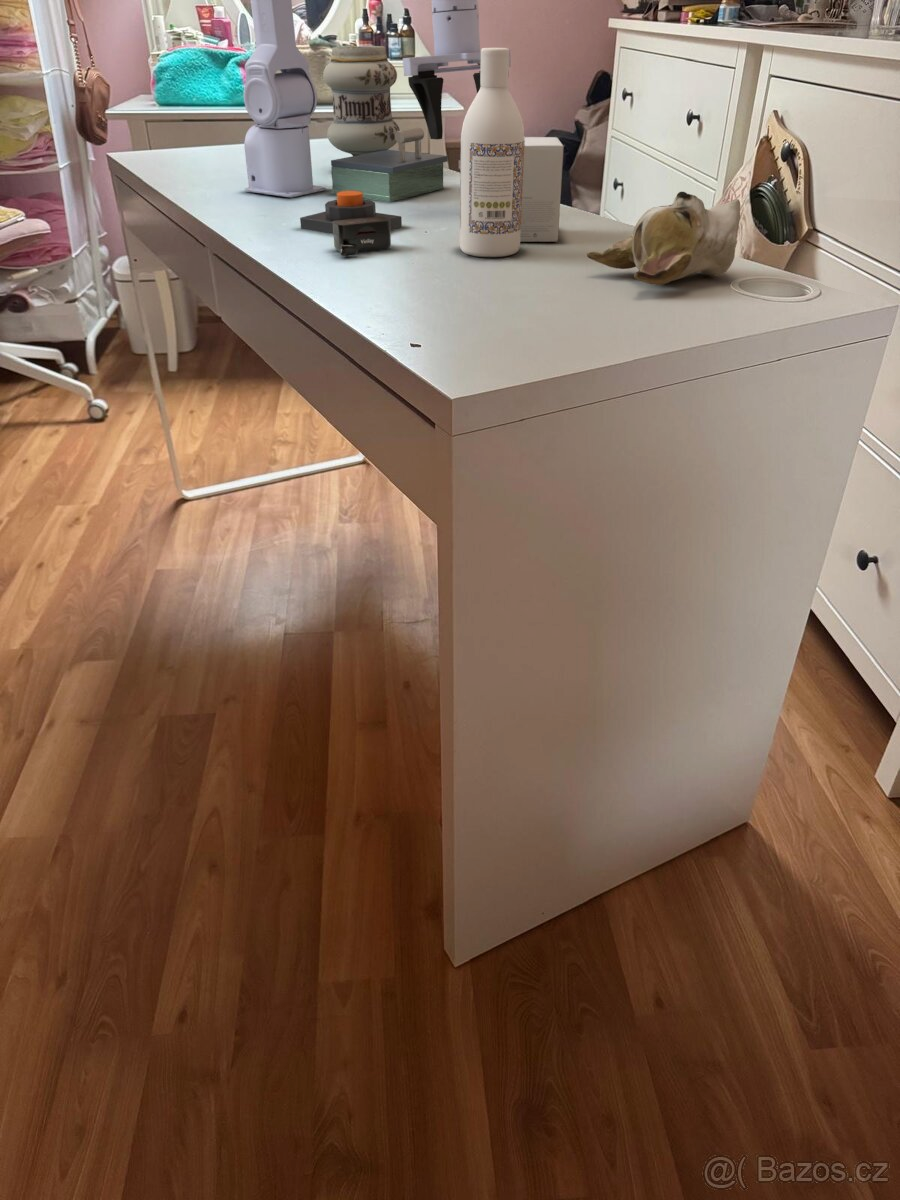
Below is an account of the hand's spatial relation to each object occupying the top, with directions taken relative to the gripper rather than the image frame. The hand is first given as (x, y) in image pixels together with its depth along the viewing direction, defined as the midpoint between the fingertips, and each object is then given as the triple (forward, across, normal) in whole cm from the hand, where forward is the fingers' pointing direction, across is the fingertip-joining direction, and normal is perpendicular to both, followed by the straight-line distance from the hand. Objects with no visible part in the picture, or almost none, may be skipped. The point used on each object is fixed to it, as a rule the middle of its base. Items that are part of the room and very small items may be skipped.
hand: (462, 135), depth 117 cm
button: (+6, -18, -2) cm, 19 cm away
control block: (+9, -18, -2) cm, 20 cm away
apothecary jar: (+7, +3, +39) cm, 40 cm away
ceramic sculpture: (+12, +1, -40) cm, 42 cm away
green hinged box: (+8, -2, +20) cm, 21 cm away
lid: (+4, -2, +19) cm, 19 cm away
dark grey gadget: (+10, -22, -14) cm, 28 cm away
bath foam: (+11, -9, -21) cm, 25 cm away
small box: (+11, 0, -16) cm, 19 cm away
